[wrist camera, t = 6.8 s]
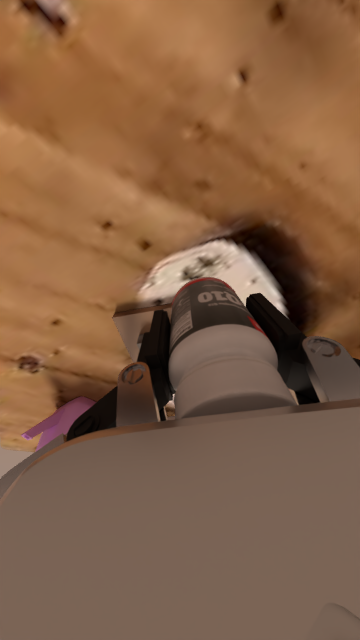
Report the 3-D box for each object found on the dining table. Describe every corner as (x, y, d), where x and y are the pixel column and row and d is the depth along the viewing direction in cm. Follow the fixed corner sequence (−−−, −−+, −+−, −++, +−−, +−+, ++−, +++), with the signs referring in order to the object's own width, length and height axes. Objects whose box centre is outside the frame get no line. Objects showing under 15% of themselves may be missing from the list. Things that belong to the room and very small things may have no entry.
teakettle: (121, 429, 52) (107, 483, 42) (62, 426, 50) (34, 482, 40) (119, 396, 43) (101, 455, 33) (47, 392, 41) (5, 453, 31)
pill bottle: (249, 292, 12) (355, 409, 5) (213, 339, 14) (251, 466, 7) (189, 262, 11) (217, 360, 4) (161, 319, 13) (144, 447, 6)
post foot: (206, 297, 28) (210, 309, 25) (213, 368, 38) (217, 384, 35) (114, 313, 29) (107, 326, 26) (144, 378, 39) (141, 394, 36)
